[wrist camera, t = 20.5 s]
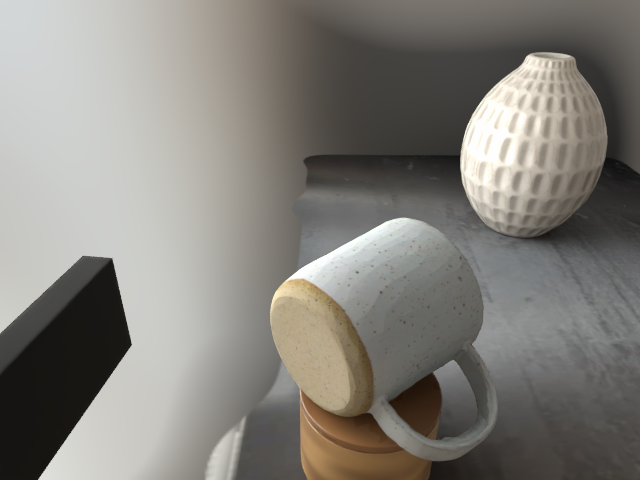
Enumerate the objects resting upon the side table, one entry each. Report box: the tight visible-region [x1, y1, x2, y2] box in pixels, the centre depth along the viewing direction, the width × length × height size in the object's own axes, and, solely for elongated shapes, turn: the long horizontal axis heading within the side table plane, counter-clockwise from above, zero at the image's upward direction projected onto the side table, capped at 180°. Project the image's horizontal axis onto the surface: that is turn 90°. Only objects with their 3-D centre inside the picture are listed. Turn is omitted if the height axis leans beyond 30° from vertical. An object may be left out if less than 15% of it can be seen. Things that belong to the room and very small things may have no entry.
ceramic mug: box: [270, 218, 498, 461], centre depth 24 cm, size 11×8×8 cm
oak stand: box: [300, 372, 442, 480], centre depth 27 cm, size 7×7×5 cm
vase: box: [460, 52, 607, 238], centre depth 49 cm, size 13×13×17 cm
